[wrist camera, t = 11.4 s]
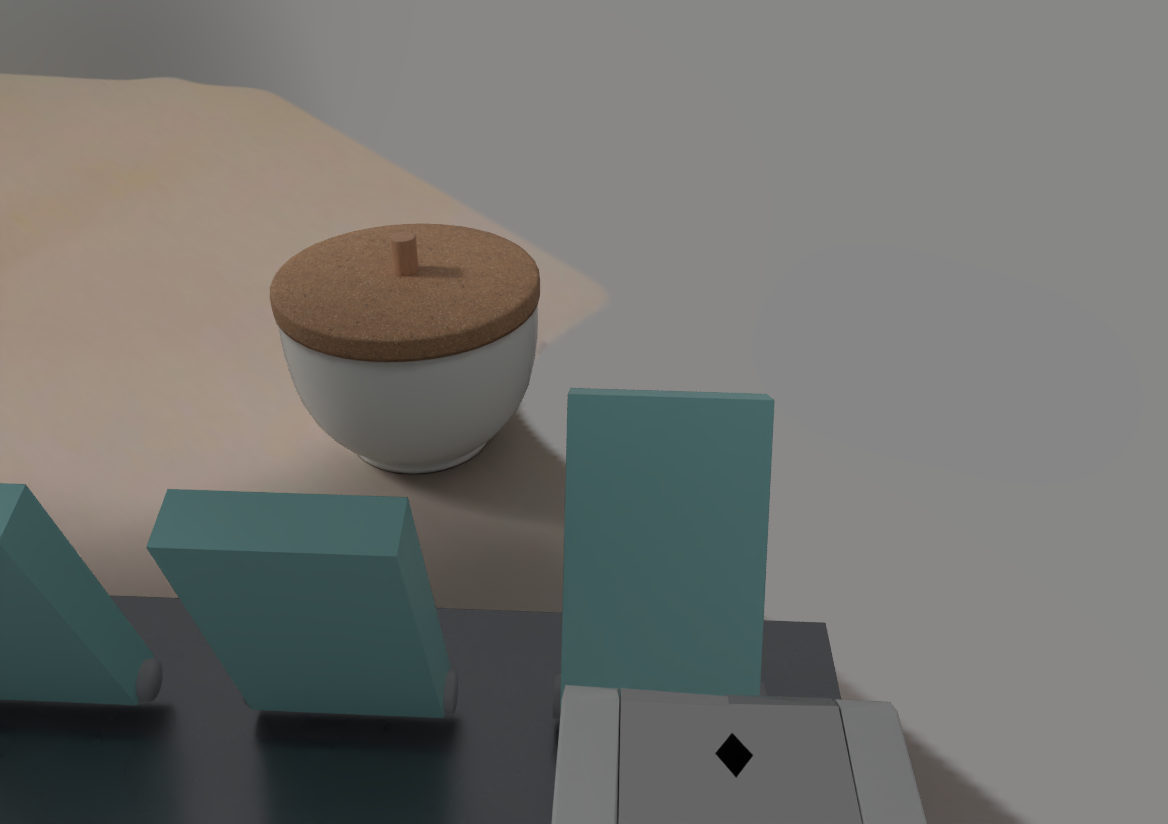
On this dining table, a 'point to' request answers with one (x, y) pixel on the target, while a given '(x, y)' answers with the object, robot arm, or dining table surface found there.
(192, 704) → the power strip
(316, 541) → the block
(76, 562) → the rocker
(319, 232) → the dining table surface
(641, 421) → the teal flat block
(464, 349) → the lidded jar
